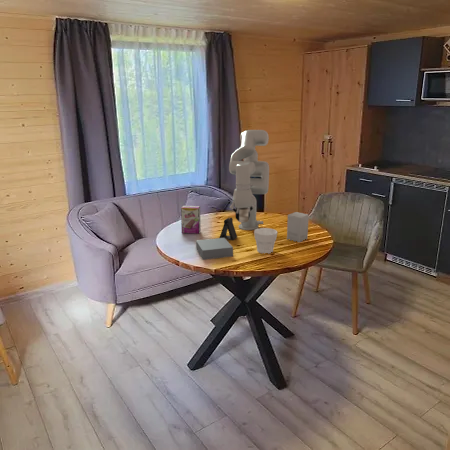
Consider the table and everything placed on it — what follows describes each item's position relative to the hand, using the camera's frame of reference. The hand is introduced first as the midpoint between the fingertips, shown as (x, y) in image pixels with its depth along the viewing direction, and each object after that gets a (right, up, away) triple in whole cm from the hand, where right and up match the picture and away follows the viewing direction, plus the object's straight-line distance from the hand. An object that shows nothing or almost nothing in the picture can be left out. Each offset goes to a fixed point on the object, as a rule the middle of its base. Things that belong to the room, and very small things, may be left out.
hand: (242, 219), depth 224 cm
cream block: (0, -1, 0) cm, 1 cm away
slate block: (-16, -18, -7) cm, 25 cm away
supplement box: (+32, -12, +14) cm, 37 cm away
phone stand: (-8, -11, +16) cm, 21 cm away
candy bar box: (-30, -8, +26) cm, 41 cm away
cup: (+12, -17, -5) cm, 22 cm away
